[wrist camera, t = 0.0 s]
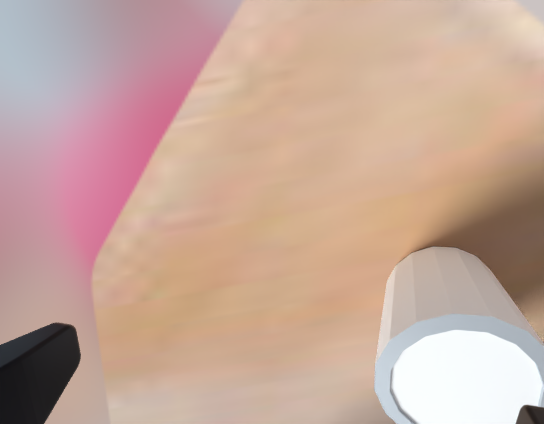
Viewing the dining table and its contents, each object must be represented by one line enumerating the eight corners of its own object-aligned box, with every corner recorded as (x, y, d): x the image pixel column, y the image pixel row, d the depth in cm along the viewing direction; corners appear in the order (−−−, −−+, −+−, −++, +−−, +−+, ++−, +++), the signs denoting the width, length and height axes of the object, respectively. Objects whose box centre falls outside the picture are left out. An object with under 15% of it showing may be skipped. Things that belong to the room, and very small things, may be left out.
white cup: (391, 222, 22) (396, 295, 16) (530, 251, 21) (596, 343, 15) (362, 327, 25) (357, 426, 19) (484, 358, 24) (523, 473, 18)
